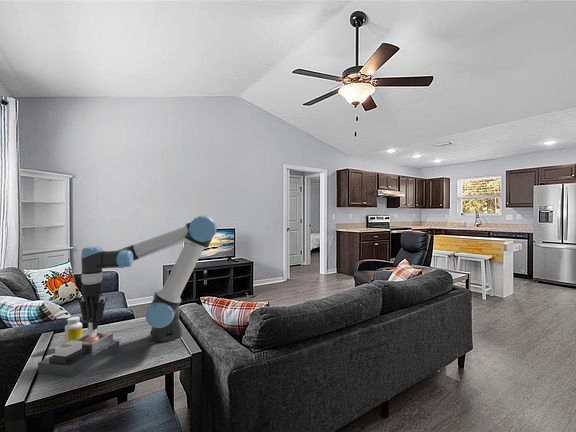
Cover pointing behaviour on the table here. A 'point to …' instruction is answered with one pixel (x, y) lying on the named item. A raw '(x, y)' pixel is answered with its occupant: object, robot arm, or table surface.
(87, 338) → the breaker button
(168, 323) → the robot arm
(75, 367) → the grey stepped block
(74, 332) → the supplement bottle
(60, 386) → the table surface
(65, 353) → the on button
